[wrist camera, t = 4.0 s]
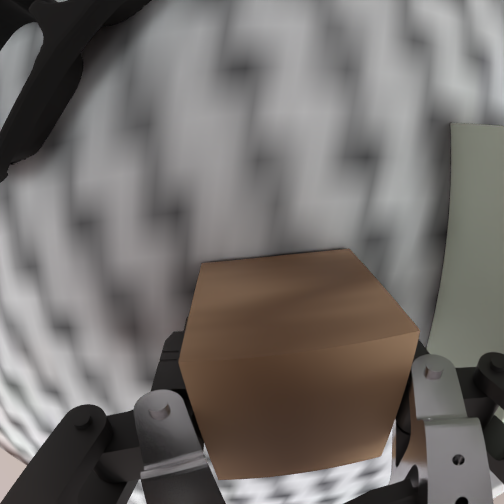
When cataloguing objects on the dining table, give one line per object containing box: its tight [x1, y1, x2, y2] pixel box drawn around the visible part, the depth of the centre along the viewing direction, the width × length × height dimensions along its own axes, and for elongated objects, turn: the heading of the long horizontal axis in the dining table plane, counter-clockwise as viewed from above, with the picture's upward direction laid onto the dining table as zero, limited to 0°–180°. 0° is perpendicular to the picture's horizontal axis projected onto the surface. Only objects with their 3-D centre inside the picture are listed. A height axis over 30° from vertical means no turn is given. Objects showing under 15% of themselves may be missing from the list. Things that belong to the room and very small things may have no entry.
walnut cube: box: [178, 249, 420, 480], centre depth 9 cm, size 5×5×5 cm
